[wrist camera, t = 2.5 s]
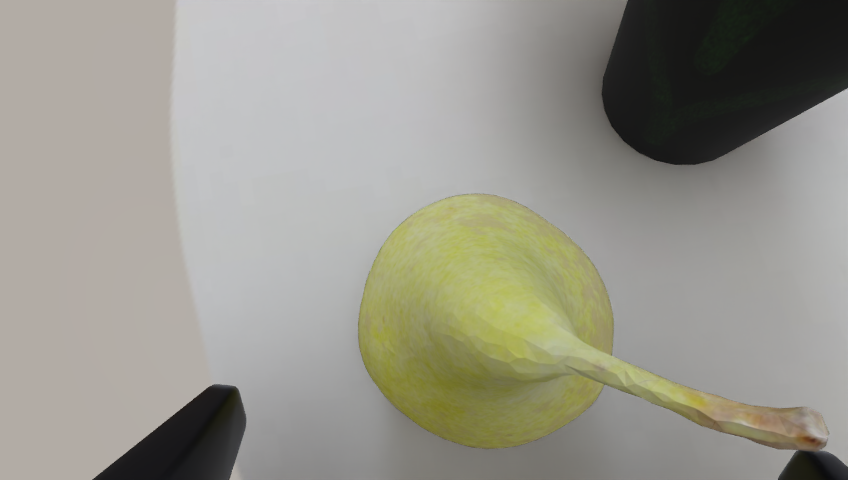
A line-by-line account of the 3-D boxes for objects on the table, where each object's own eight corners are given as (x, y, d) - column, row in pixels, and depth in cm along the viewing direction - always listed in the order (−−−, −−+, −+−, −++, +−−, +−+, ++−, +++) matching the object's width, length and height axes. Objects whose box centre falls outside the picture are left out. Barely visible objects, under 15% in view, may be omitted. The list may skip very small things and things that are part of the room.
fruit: (428, 201, 19) (372, -33, 7) (627, 285, 18) (932, 165, 6) (348, 373, 18) (135, 416, 6) (553, 473, 17) (755, 752, 5)
